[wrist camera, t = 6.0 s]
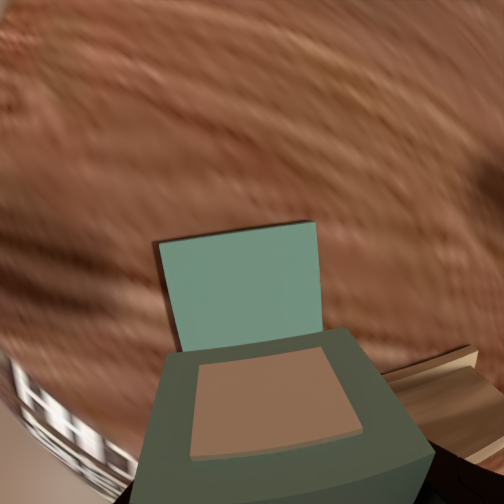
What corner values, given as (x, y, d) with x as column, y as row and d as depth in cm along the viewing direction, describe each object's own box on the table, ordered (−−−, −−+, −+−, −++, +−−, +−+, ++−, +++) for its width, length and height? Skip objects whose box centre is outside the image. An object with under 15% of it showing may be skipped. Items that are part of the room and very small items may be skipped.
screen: (461, 384, 21) (518, 444, 13) (315, 431, 20) (348, 524, 12) (471, 344, 20) (539, 402, 12) (315, 391, 19) (355, 491, 11)
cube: (341, 442, 10) (386, 551, 5) (204, 464, 10) (202, 582, 5) (345, 322, 9) (437, 446, 4) (166, 348, 8) (126, 498, 4)
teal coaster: (321, 352, 19) (323, 355, 18) (190, 372, 18) (189, 375, 18) (313, 220, 17) (315, 221, 16) (160, 242, 16) (158, 244, 16)
